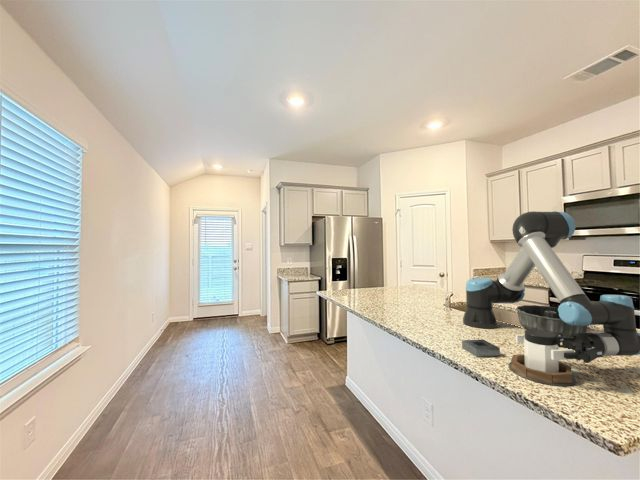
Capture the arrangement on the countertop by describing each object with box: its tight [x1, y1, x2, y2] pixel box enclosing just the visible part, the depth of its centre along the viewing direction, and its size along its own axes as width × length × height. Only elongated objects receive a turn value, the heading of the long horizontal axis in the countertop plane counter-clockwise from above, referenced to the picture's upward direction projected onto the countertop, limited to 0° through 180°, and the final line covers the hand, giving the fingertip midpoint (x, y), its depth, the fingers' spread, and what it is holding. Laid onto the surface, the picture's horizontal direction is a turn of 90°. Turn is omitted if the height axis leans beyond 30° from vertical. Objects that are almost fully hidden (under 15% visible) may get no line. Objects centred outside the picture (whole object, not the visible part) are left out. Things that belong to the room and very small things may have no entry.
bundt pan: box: [515, 304, 589, 337], centre depth 128 cm, size 26×26×10 cm
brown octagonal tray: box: [508, 353, 577, 387], centre depth 89 cm, size 17×17×3 cm
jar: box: [523, 329, 560, 373], centre depth 90 cm, size 9×8×12 cm
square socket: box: [461, 339, 501, 358], centre depth 106 cm, size 9×9×3 cm
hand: (532, 346), depth 89 cm, fingers open, 13 cm apart
